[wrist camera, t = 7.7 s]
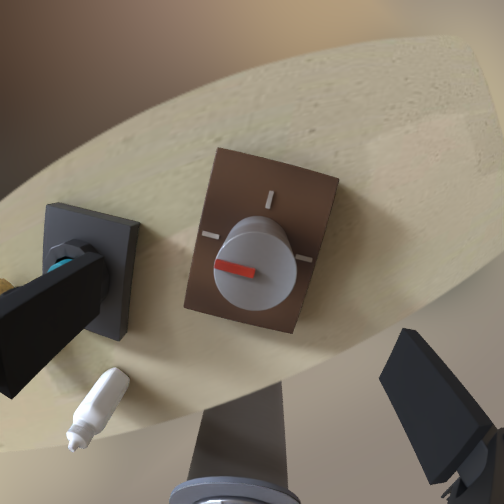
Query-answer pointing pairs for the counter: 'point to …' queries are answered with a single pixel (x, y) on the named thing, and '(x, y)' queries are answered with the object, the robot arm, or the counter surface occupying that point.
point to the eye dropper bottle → (97, 408)
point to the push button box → (100, 242)
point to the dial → (256, 265)
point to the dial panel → (267, 205)
